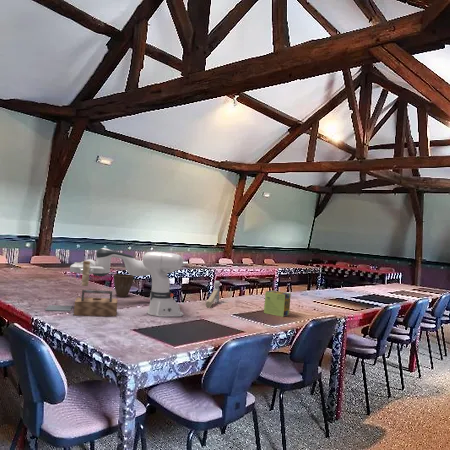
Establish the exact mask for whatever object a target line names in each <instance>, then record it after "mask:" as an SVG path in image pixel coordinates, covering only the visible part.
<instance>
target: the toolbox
mask: <svg viewBox="0 0 450 450" xmlns="http://www.w3.org/2000/svg"><path fill="white" fill-rule="evenodd" d="M85 293H86V294H105V295H106V294H109V297H106V298H105V297H103V298H101V297H85ZM117 311H118V298H113V290H99V289H98V290H97V289H96V290H95V289H94V290H93V289H81V296H80V297H79V296H77V297H76V298H75V300H74V308H73V316H84V317H117V314H118V313H117Z"/></svg>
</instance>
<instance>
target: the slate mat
mask: <svg viewBox="0 0 450 450" xmlns="http://www.w3.org/2000/svg"><path fill="white" fill-rule="evenodd" d="M72 309H73V305H54V304H49V305H47V307H46V308H45V312H71V310H72Z"/></svg>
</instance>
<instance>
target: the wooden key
mask: <svg viewBox="0 0 450 450" xmlns="http://www.w3.org/2000/svg"><path fill="white" fill-rule="evenodd" d="M82 262H83V274H82V278H81V287H88V286H89V282H90V281H89V279H90V275H89V270H90V261H86V260H83V261H82Z"/></svg>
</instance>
